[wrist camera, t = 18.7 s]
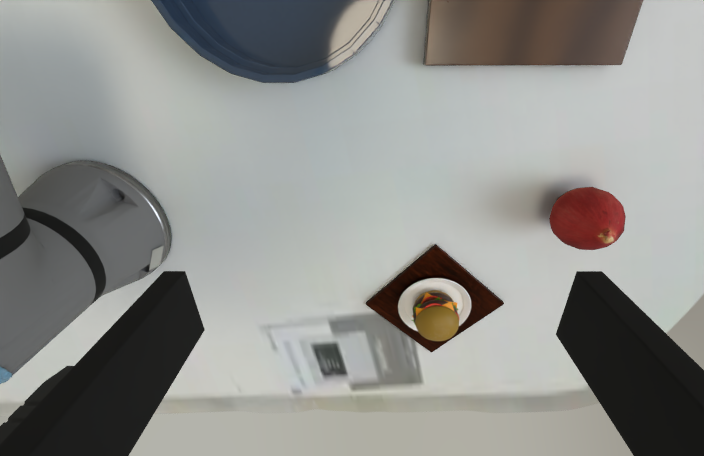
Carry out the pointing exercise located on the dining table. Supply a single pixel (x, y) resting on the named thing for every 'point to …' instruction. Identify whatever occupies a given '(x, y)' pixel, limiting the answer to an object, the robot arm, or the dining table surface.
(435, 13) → the board
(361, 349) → the dining table surface
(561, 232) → the onion
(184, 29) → the bowl
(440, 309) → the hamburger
